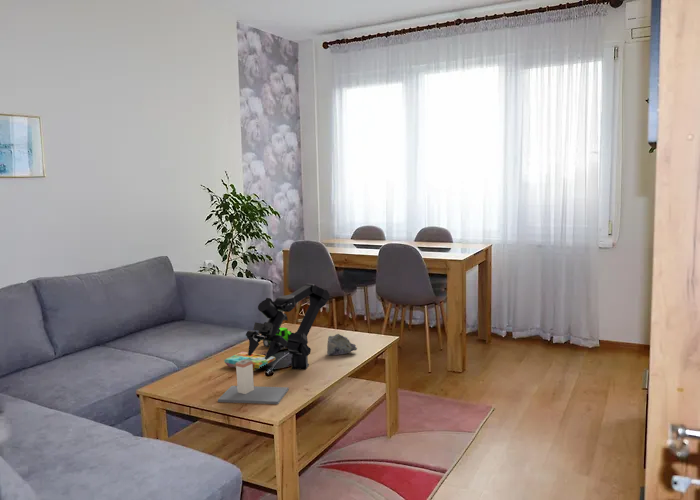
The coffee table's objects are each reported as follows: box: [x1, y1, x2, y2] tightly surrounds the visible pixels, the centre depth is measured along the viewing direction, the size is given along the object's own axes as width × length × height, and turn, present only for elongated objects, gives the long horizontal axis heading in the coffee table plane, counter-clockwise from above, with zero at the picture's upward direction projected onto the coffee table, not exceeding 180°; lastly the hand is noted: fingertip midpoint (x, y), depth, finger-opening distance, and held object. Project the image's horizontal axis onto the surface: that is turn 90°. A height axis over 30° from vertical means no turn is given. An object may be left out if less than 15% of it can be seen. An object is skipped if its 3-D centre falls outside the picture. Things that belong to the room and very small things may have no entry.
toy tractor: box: [262, 327, 293, 348], centre depth 278 cm, size 11×16×10 cm
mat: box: [217, 385, 289, 405], centre depth 217 cm, size 24×14×1 cm, turn 80°
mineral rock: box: [326, 333, 358, 356], centre depth 262 cm, size 13×11×10 cm
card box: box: [235, 359, 255, 394], centre depth 218 cm, size 5×4×12 cm
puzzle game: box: [223, 351, 277, 372], centre depth 251 cm, size 12×5×20 cm
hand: (257, 357), depth 224 cm, fingers open, 9 cm apart
